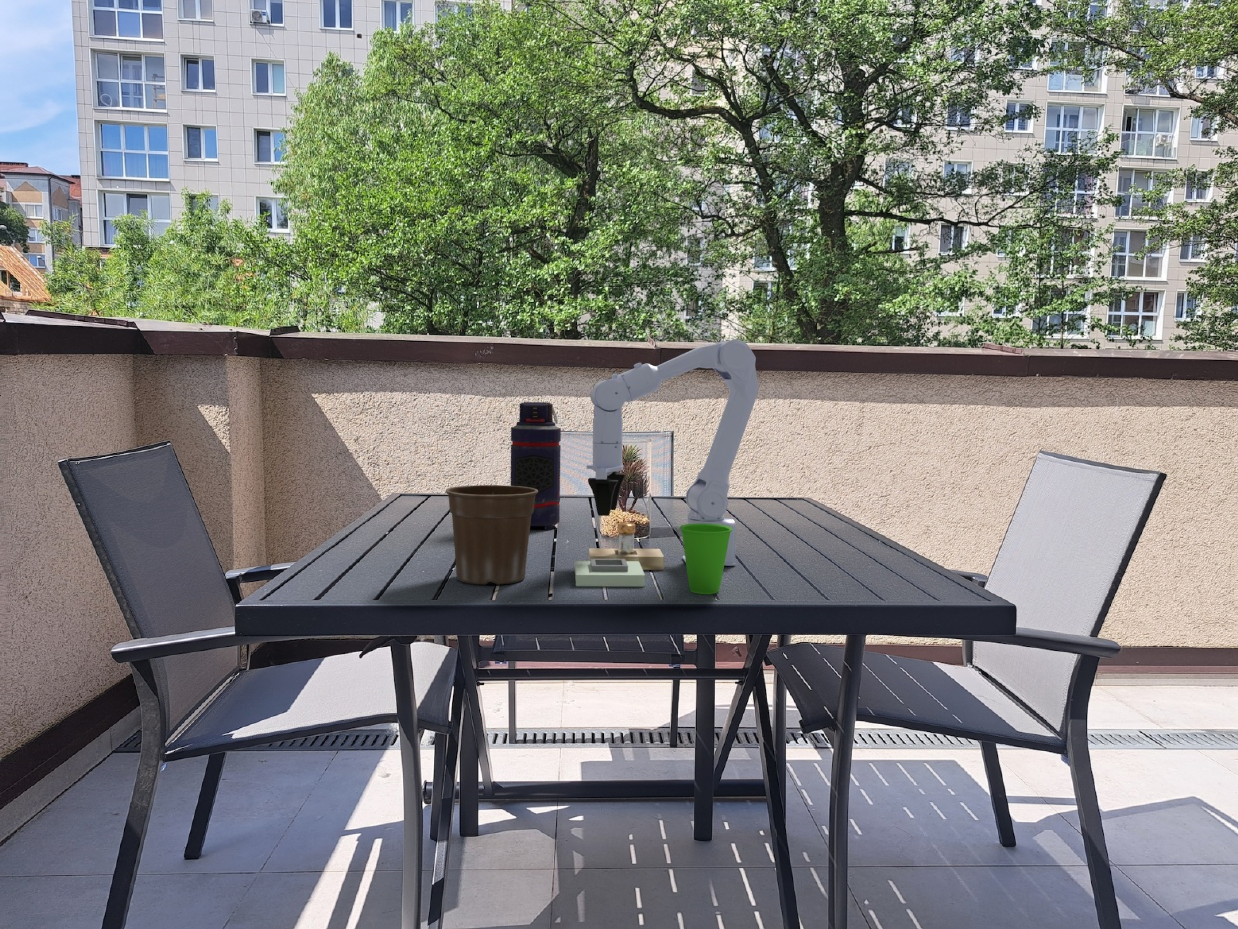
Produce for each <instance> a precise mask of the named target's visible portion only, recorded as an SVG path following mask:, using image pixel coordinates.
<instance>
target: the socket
mask: <svg viewBox="0 0 1238 929" xmlns="http://www.w3.org/2000/svg"><path fill="white" fill-rule="evenodd" d="M574 579H575V587H645V586H646V574H645V572H644V570H643V569H642V567H641V565H640V563H639V561H626V560H625V559H590V561H589V560H575V561H574Z"/></svg>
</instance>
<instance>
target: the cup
mask: <svg viewBox="0 0 1238 929" xmlns="http://www.w3.org/2000/svg"><path fill="white" fill-rule="evenodd" d="M679 529H680V530H681V534H682V542H683V551H684V556H685V560H686V562H685V566H686V568H685V569H686V575H687V582H688V583H687V584H688V588H689V590H690V592H691V593H694V594H700V595H713V594H717V593H719V591H720V588H721V583H722V579H723V573H724V568H725V566H724V564H725V558H726V553H727V548H728V542H729V537H730V532H731V531H733V530H732V528H731V527H729V526H725V525H718V524H701V523H699V524H688V523H687V524H682V525H680V526H679Z"/></svg>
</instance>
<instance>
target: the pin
mask: <svg viewBox="0 0 1238 929" xmlns="http://www.w3.org/2000/svg"><path fill="white" fill-rule="evenodd" d="M617 533H618V536H617V537H618V539H617V540H618V544H617V546H618V547H617V549H618V555H634V549H635V548H634V547H635V533H636V524H635V523H632V522H631V523H630V522H629V523H628V522H622V523H621V522H620V523H618V524H617Z"/></svg>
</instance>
